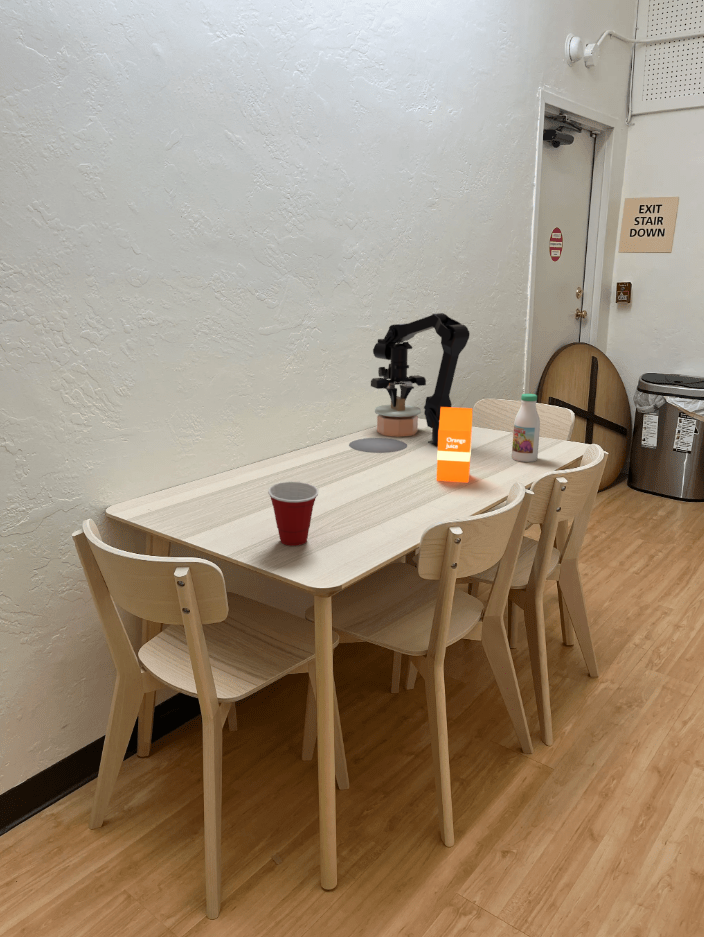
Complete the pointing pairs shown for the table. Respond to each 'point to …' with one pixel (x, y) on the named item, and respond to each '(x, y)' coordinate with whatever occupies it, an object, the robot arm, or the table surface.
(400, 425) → the bowl
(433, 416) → the robot arm
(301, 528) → the plastic cup
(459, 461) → the orange juice
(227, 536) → the table surface
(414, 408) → the lid
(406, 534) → the table surface
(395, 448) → the mat
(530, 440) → the milk bottle
